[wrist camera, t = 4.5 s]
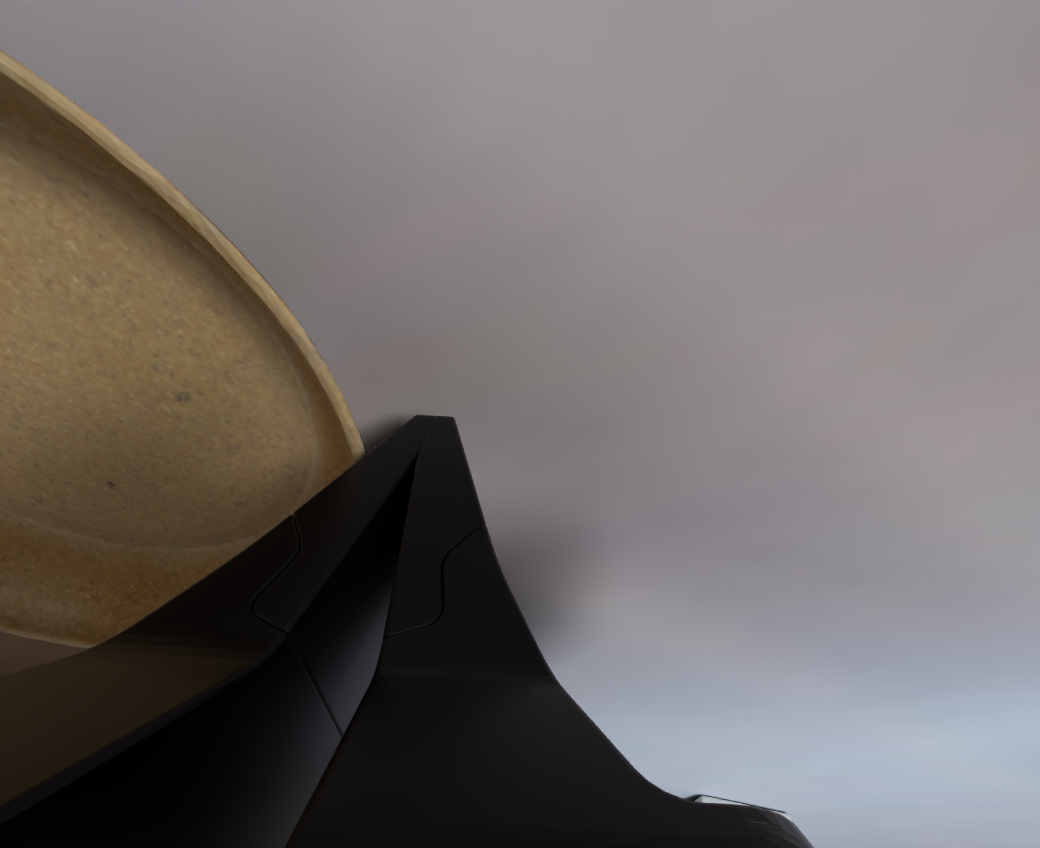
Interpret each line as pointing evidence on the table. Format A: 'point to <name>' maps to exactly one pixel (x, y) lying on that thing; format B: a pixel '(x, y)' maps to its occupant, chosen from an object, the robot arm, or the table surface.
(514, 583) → the table surface
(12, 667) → the lane walls
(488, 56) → the table surface
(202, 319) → the plant saucer
